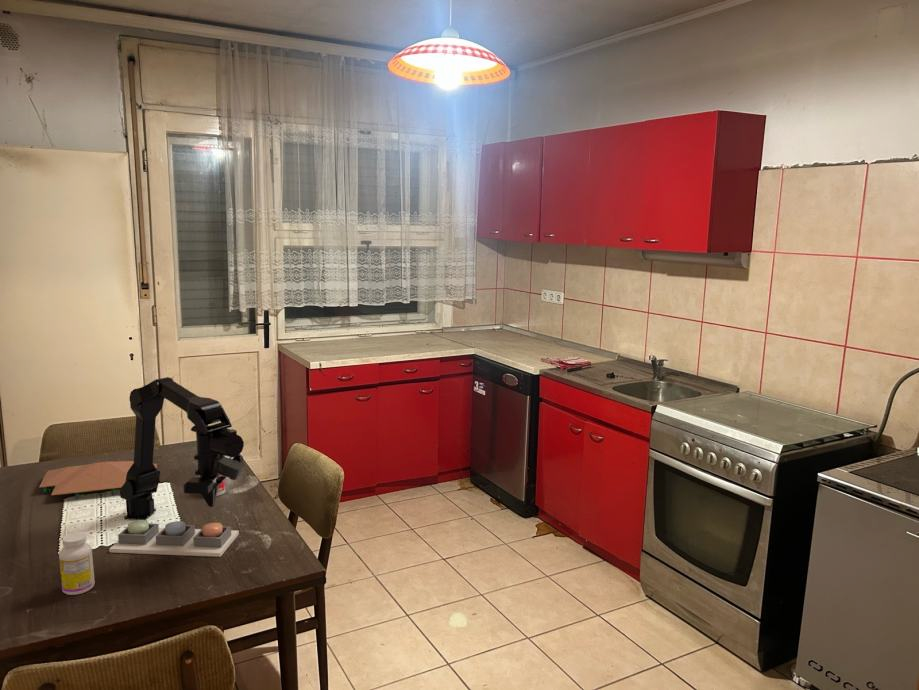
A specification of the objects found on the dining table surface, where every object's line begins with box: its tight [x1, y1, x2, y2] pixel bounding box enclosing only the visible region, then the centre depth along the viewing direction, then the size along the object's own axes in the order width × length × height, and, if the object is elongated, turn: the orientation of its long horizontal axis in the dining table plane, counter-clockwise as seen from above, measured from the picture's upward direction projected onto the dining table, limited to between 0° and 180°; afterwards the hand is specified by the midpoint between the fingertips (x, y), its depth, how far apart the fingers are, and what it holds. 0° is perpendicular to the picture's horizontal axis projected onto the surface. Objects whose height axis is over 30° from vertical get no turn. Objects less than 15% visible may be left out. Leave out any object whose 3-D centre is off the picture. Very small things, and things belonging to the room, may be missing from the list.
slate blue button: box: [164, 520, 186, 536], centre depth 180 cm, size 5×5×2 cm
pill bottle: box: [216, 475, 227, 497], centre depth 214 cm, size 6×6×11 cm
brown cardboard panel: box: [38, 460, 158, 499], centre depth 218 cm, size 23×33×8 cm
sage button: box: [127, 519, 149, 534], centre depth 181 cm, size 5×5×2 cm
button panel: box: [108, 523, 240, 558], centre depth 181 cm, size 29×13×4 cm, turn 88°
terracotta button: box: [201, 522, 223, 537], centre depth 180 cm, size 5×5×2 cm
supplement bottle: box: [58, 532, 96, 596], centre depth 157 cm, size 7×7×13 cm
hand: (211, 506), depth 179 cm, fingers closed
